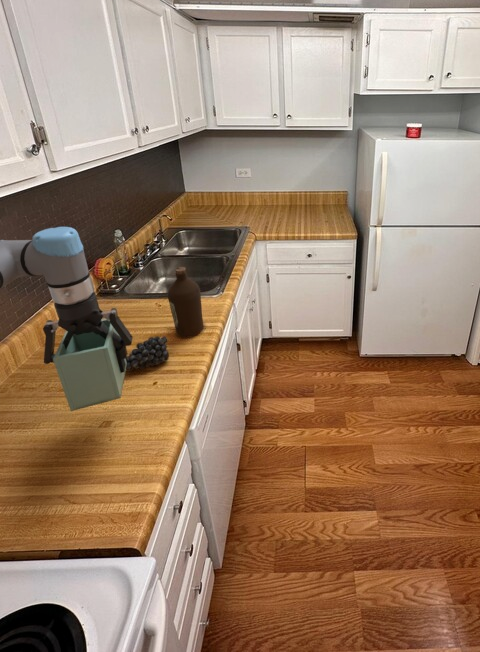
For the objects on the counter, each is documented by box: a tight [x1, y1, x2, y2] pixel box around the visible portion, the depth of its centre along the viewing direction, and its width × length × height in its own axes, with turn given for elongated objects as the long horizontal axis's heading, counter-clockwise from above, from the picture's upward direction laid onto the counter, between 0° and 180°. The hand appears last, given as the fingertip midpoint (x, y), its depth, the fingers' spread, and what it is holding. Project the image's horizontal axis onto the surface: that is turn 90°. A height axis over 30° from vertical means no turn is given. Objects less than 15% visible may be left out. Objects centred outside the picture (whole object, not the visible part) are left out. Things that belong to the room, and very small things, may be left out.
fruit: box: [126, 335, 171, 372], centre depth 104 cm, size 9×8×15 cm
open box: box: [53, 318, 127, 412], centre depth 79 cm, size 15×10×12 cm
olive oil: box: [167, 266, 204, 338], centre depth 117 cm, size 11×11×25 cm
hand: (98, 374), depth 81 cm, fingers closed on open box, 10 cm apart
